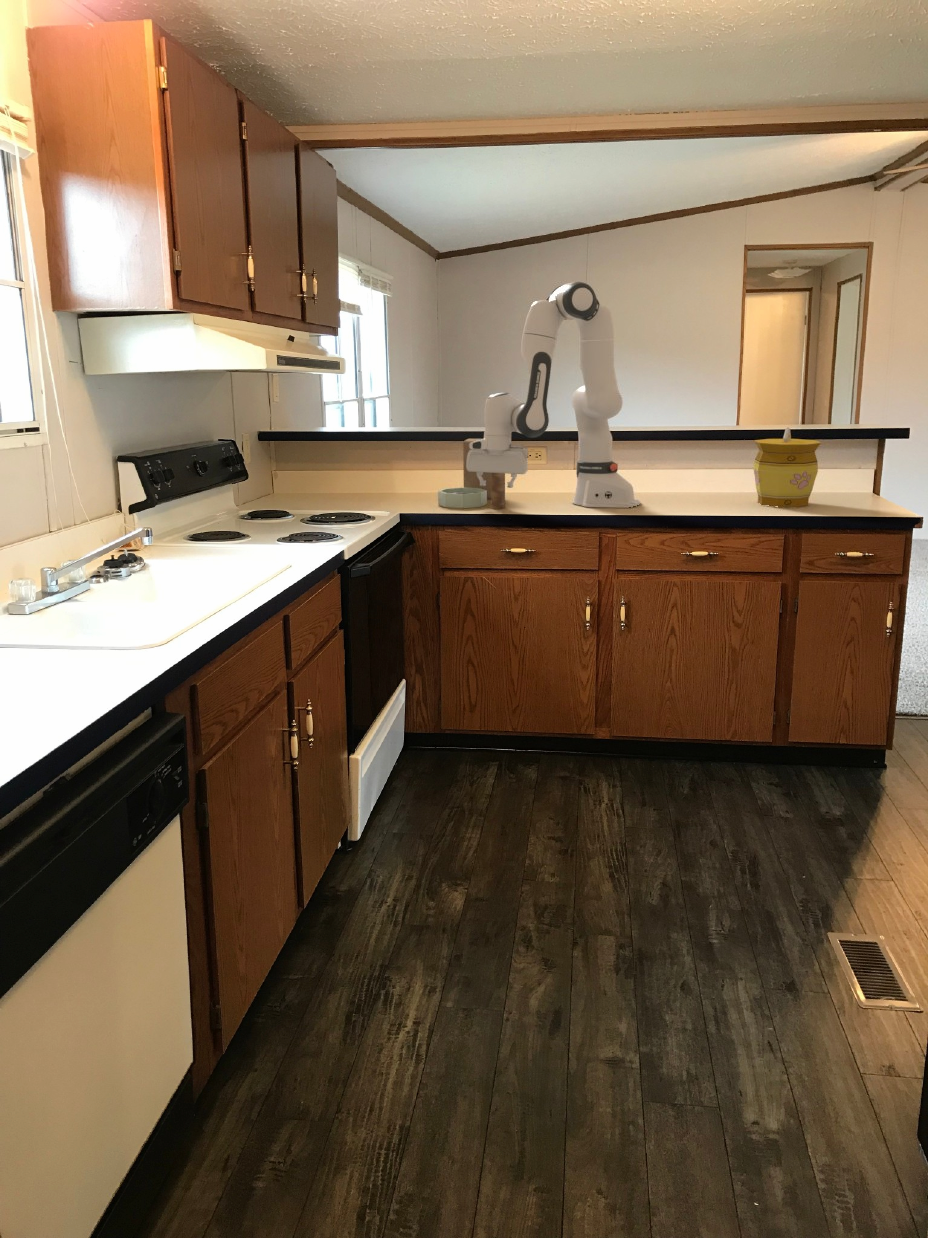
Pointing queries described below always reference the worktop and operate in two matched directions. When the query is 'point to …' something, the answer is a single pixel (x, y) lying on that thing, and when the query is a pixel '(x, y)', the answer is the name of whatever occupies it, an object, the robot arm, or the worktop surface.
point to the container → (785, 471)
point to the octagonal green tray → (462, 497)
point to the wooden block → (475, 473)
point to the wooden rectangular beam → (498, 490)
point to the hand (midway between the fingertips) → (496, 486)
